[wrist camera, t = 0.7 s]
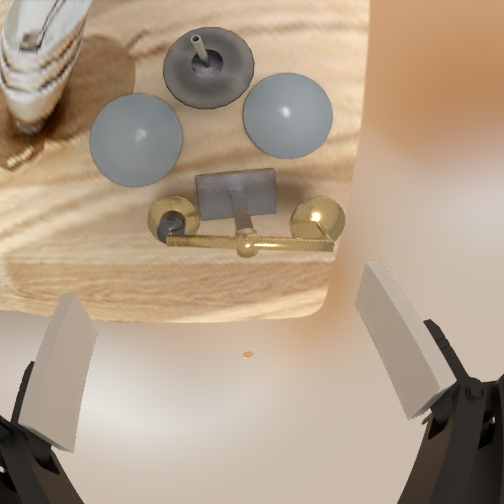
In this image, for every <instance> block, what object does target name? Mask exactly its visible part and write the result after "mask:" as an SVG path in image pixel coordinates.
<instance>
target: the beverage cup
mask: <svg viewBox="0 0 504 504" xmlns="http://www.w3.org/2000/svg"><path fill="white" fill-rule="evenodd" d="M253 75H254V59H253V55H252V51H251V49H250V48H249V47H248V45H247V44H246V42H245V41H244V40H243V39H242V38H241V37H239V36H238V35H237V34H235V33H234V32H232V31H229V30H226V29H223V28H220V27H202V28H199V29H195V30H192V31H189V32H188V33H186V34H185V35H183V36H181V37H180V38H178V39H177V41H176V42H175V43H174V44H173V45H172V46H171V47H170V49H169V50H168V53H167V55H166V58H165V60H164V67H163V76H164V80H165V83H166V86H167V88H168V89H169V91H170V92H171V93H172V95H173V96H174V97H175V98H176V99H178V100H179V101H181V102H182V103H184V104H185V105H187V106H191V107H194V108H197V109H215V108H219V107H222V106H226V105H228V104H230V103H231V102H233V101H235V100H236V99H238V98H239V97H240V96H241V95H242V94H243V93H244V92H245V91H246V89H247V88H248V87H249V84H250V82H251V80H252V78H253Z"/></svg>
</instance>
